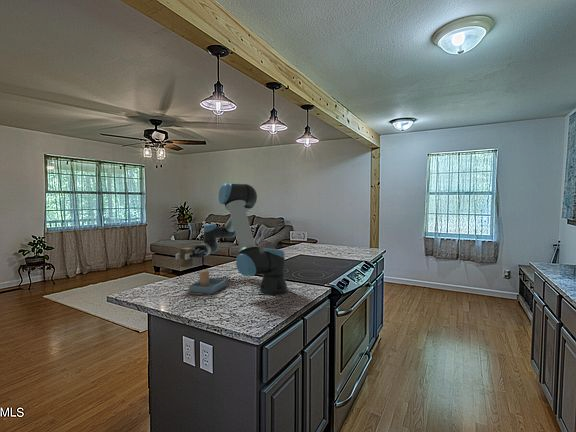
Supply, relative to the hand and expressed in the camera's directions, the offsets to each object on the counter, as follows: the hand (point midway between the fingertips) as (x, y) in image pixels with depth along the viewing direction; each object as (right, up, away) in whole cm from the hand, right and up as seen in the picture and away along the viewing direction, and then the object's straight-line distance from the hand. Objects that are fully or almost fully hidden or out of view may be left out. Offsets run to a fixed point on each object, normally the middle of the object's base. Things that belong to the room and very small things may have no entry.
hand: (180, 256), depth 173 cm
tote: (+15, -18, +2) cm, 23 cm away
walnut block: (+1, -6, +5) cm, 8 cm away
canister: (+13, -17, -2) cm, 22 cm away
